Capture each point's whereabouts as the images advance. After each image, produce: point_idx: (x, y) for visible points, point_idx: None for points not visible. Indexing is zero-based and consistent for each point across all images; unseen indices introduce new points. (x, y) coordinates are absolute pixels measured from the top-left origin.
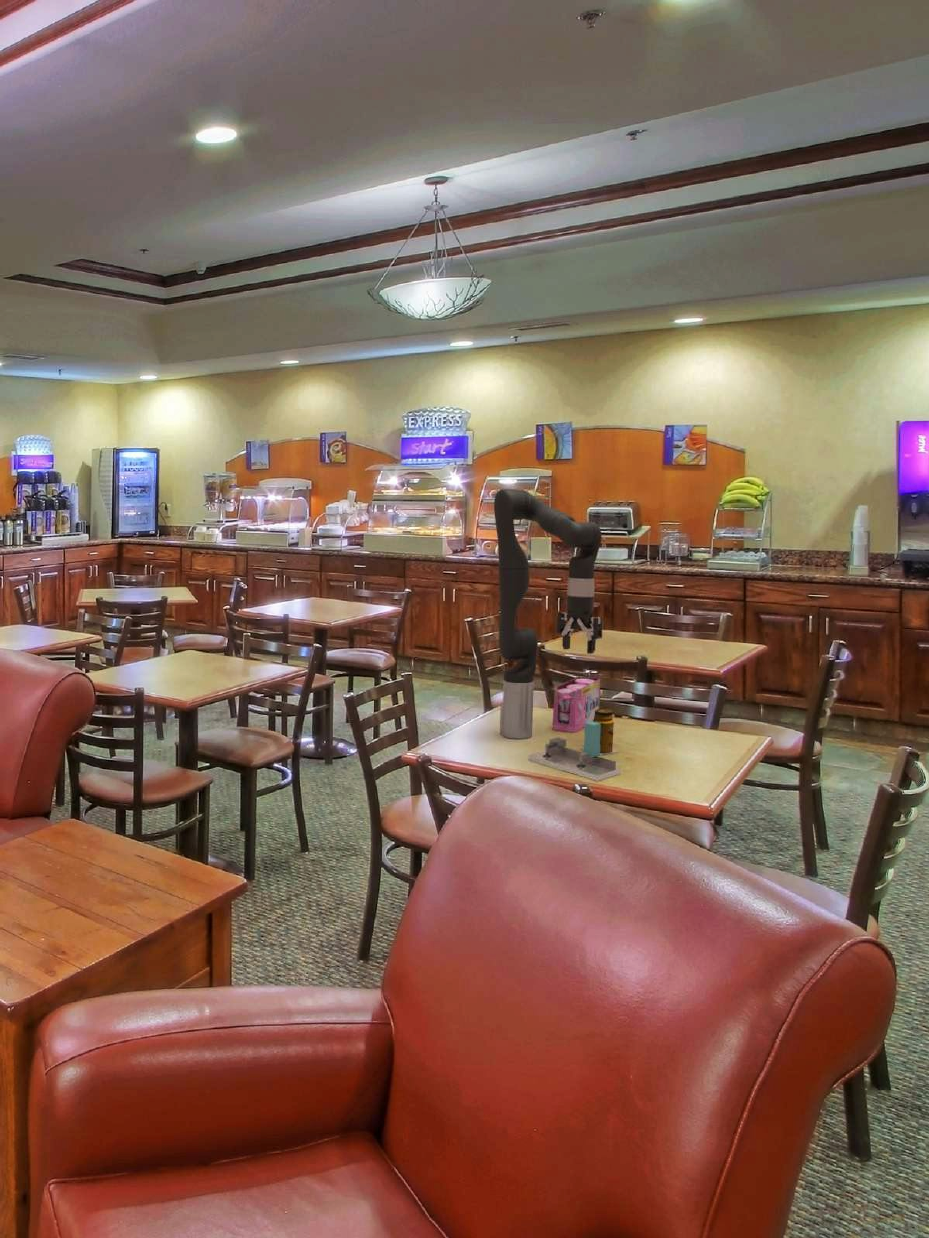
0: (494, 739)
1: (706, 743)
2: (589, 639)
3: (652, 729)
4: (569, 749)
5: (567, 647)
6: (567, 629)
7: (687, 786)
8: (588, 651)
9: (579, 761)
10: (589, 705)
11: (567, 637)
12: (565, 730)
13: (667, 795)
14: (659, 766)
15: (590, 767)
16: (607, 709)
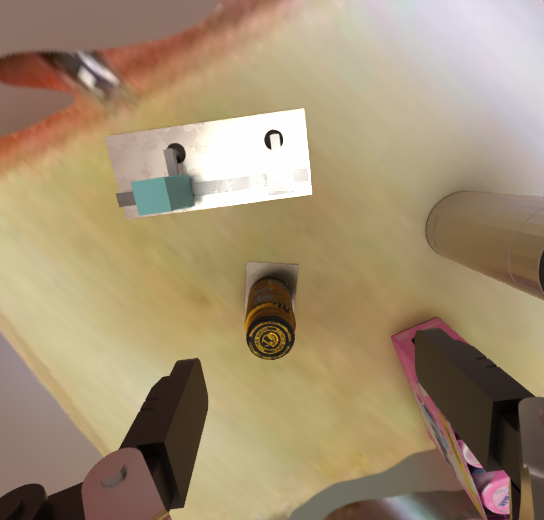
0: (470, 157)
1: (201, 468)
2: (126, 458)
3: (315, 459)
4: (245, 185)
5: (421, 358)
6: (537, 489)
7: (14, 265)
8: (179, 365)
9: (175, 150)
10: (435, 427)
11: (481, 421)
12: (410, 329)
13: None
14: (134, 311)
15: (159, 165)
16: (275, 356)
